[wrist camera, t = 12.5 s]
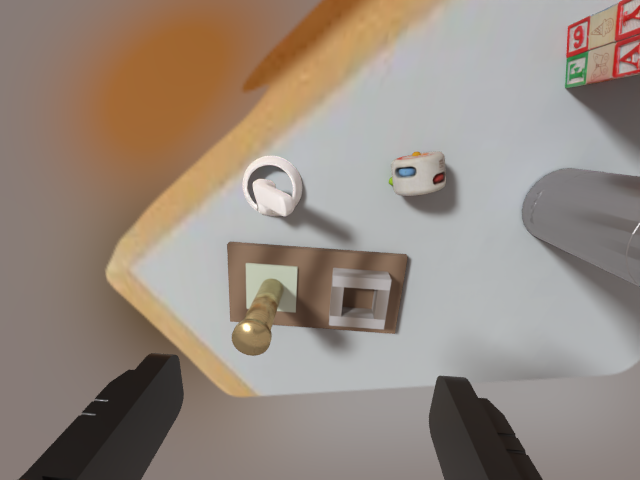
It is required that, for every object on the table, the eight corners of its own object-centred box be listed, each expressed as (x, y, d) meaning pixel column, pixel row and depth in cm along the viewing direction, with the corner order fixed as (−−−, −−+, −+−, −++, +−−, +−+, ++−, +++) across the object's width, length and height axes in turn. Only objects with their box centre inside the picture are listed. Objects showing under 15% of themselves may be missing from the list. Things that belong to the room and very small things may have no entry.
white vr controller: (345, 219, 34) (294, 249, 31) (292, 199, 43) (249, 220, 40) (330, 155, 30) (271, 182, 27) (276, 147, 39) (227, 167, 36)
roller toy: (384, 155, 36) (393, 158, 31) (437, 145, 36) (456, 146, 30) (388, 191, 38) (397, 200, 32) (439, 182, 37) (458, 189, 32)
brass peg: (286, 276, 40) (270, 324, 30) (286, 302, 42) (270, 357, 31) (257, 274, 41) (231, 321, 30) (257, 300, 42) (232, 353, 31)
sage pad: (297, 266, 40) (297, 267, 40) (295, 311, 43) (295, 312, 42) (246, 262, 40) (245, 263, 40) (247, 307, 43) (246, 308, 42)
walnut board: (405, 254, 40) (412, 264, 37) (393, 329, 44) (398, 344, 41) (229, 241, 41) (220, 250, 37) (232, 317, 44) (224, 331, 41)
